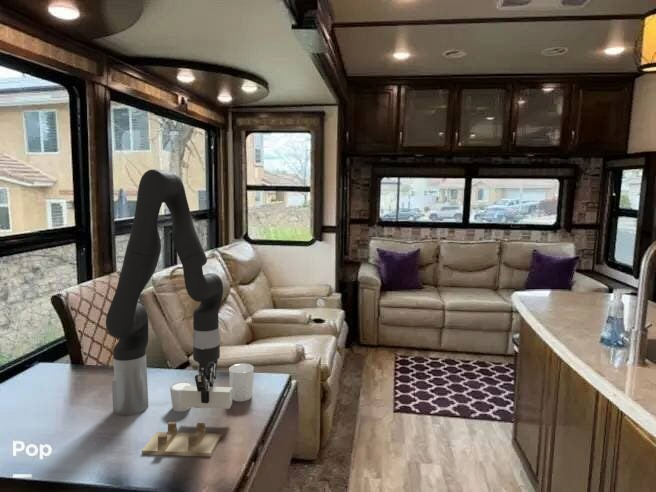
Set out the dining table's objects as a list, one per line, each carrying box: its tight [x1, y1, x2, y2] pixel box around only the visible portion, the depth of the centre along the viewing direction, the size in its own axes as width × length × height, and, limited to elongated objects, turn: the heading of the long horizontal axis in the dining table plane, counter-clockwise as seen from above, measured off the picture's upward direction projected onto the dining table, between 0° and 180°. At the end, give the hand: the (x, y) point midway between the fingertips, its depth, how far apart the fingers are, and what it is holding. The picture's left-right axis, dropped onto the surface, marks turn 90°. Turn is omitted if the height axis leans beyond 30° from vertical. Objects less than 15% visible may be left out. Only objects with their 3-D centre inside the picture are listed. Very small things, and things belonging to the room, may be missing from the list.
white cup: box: [228, 363, 255, 403], centre depth 149 cm, size 8×8×10 cm
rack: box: [141, 421, 222, 457], centre depth 121 cm, size 18×9×4 cm, turn 87°
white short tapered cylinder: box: [169, 381, 194, 412], centre depth 142 cm, size 7×7×7 cm
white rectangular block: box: [182, 385, 233, 410], centre depth 133 cm, size 14×3×5 cm, turn 88°
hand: (207, 399), depth 133 cm, fingers closed on white rectangular block, 3 cm apart
